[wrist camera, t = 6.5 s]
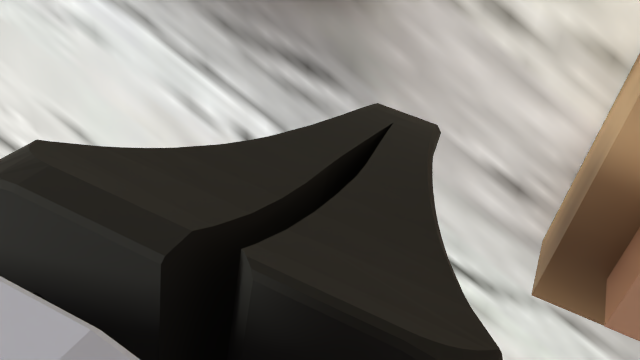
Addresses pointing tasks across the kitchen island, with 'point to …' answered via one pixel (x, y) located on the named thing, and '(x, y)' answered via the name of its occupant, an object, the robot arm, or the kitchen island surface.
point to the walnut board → (596, 214)
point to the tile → (625, 292)
